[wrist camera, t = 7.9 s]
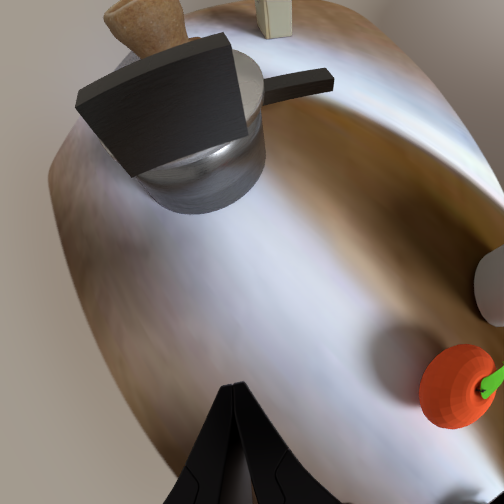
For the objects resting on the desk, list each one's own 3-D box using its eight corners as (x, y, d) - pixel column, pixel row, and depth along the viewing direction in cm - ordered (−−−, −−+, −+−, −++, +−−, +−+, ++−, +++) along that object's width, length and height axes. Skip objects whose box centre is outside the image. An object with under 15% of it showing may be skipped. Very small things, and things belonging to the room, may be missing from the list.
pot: (350, 170, 26) (368, 114, 19) (153, 232, 27) (110, 192, 19) (300, 89, 31) (301, 35, 23) (141, 138, 31) (112, 92, 23)
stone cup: (136, 66, 37) (103, -3, 23) (205, 40, 37) (184, -34, 23) (140, 120, 32) (88, 31, 18) (229, 87, 32) (204, -15, 18)
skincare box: (257, 25, 37) (248, -33, 26) (282, 22, 37) (277, -36, 26) (266, 40, 35) (259, -26, 24) (294, 36, 35) (291, -28, 24)
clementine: (466, 328, 20) (514, 318, 14) (480, 392, 18) (526, 398, 11) (397, 365, 20) (438, 369, 14) (413, 433, 18) (452, 456, 12)
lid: (293, 135, 18) (292, 32, 11) (103, 202, 18) (32, 135, 11) (238, 42, 23) (225, -26, 15) (107, 90, 23) (72, 33, 15)
